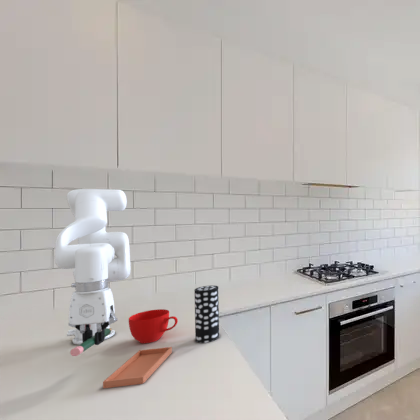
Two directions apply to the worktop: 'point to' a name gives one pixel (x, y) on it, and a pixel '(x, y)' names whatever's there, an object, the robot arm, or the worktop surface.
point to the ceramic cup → (150, 325)
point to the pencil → (87, 344)
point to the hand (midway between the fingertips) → (93, 343)
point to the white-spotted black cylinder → (206, 314)
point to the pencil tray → (138, 368)
